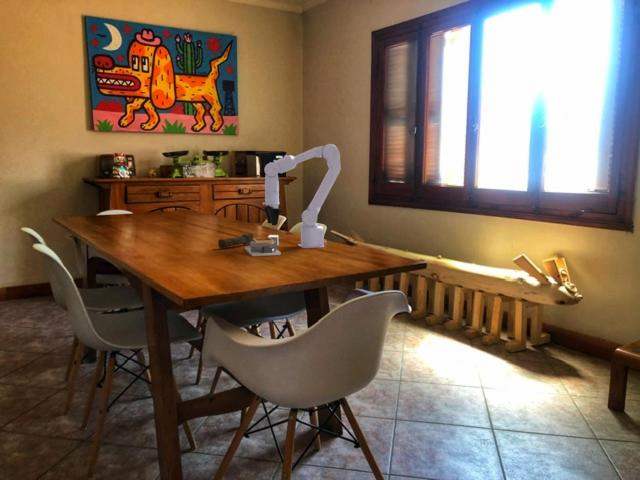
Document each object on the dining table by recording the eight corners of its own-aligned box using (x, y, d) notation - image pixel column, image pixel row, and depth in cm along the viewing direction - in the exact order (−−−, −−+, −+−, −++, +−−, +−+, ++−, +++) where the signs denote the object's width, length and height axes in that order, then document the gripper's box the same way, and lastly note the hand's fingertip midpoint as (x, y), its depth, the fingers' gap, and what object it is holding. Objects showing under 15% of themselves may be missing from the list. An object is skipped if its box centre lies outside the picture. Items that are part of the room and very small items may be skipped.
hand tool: (223, 249, 208) (224, 238, 207) (217, 247, 211) (217, 236, 210) (257, 244, 223) (258, 233, 222) (251, 242, 225) (252, 232, 224)
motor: (270, 247, 214) (270, 235, 214) (280, 254, 197) (280, 242, 197) (244, 249, 211) (244, 236, 210) (252, 256, 194) (252, 243, 193)
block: (278, 235, 224) (277, 237, 217) (278, 244, 224) (277, 246, 217) (269, 235, 223) (267, 237, 216) (269, 244, 224) (268, 246, 217)
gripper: (259, 191, 220) (259, 222, 222) (266, 193, 206) (266, 226, 208) (275, 190, 222) (275, 222, 224) (283, 192, 208) (283, 226, 210)
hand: (272, 224), depth 216 cm, fingers open, 7 cm apart
